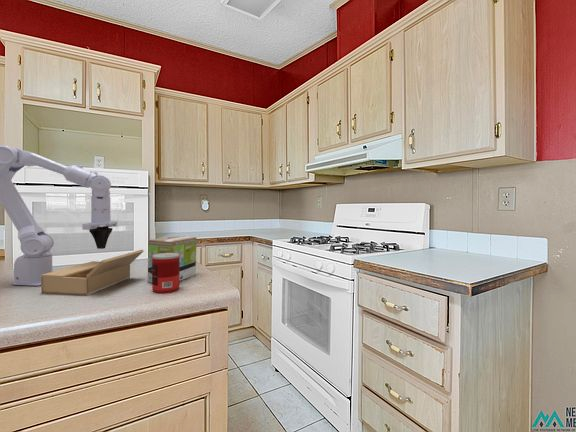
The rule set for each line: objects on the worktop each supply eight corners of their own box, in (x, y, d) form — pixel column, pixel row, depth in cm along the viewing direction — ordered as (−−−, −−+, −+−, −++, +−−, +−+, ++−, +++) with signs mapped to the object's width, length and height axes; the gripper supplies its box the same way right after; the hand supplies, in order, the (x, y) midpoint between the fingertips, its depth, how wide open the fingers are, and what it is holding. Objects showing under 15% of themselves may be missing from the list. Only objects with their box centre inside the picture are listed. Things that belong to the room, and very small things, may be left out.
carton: (41, 293, 85) (41, 274, 85) (92, 276, 105) (92, 261, 105) (86, 295, 84) (86, 276, 84) (129, 278, 104) (129, 262, 103)
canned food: (184, 287, 94) (184, 253, 93) (166, 294, 86) (166, 258, 86) (165, 285, 96) (165, 251, 96) (146, 291, 89) (146, 255, 88)
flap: (102, 260, 83) (104, 262, 83) (142, 249, 103) (143, 251, 103) (85, 275, 84) (87, 277, 84) (129, 262, 103) (130, 263, 103)
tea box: (173, 285, 96) (173, 240, 96) (146, 283, 98) (146, 239, 98) (196, 274, 111) (197, 236, 110) (172, 272, 113) (173, 234, 112)
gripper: (96, 210, 95) (96, 252, 96) (124, 209, 109) (125, 245, 110) (76, 210, 95) (76, 251, 96) (107, 209, 110) (107, 245, 111)
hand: (101, 248), depth 103 cm, fingers closed
